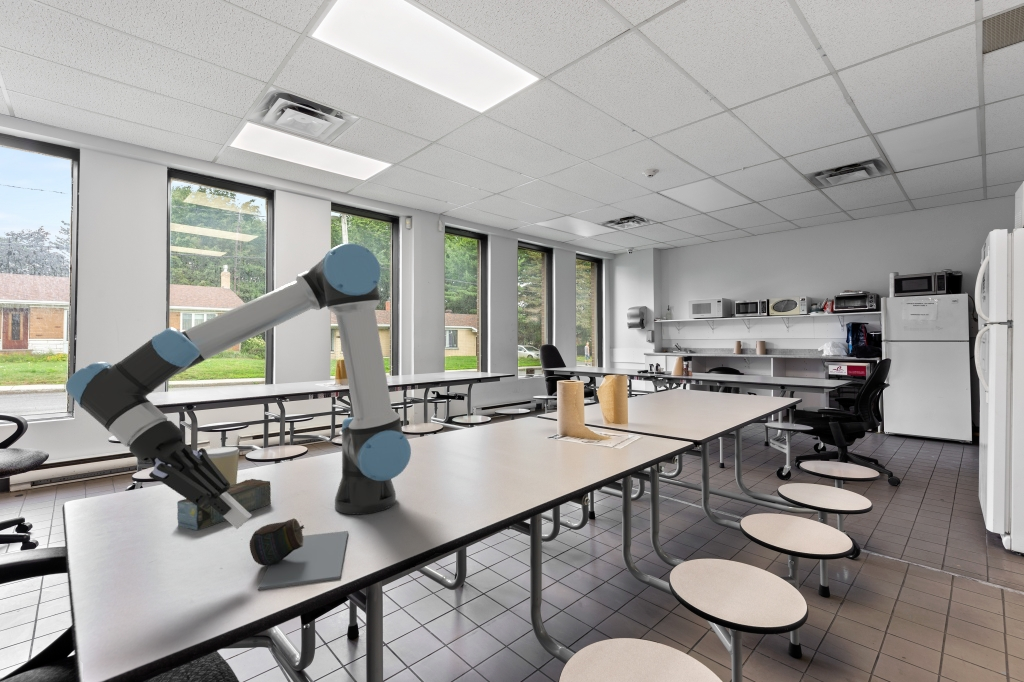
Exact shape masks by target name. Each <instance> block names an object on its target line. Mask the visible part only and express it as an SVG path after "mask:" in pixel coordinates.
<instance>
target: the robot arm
mask: <svg viewBox="0 0 1024 682" xmlns="http://www.w3.org/2000/svg"><path fill="white" fill-rule="evenodd" d="M381 271H382V270H381V266H380V263H379V260H378V259H377V256H376V255H375V254H374V253H373V252H372V251H371V250H369V248H367V247H365V246H363V245H361V244H358V243H349V242H348V243H343V244H339V245H337V246H334V247H332V248H331V249H329V251H328V252H327V253H325V256H324V257H323V258H322V259H321V260H320V261H319V262H318V263H316V264H315V265H313V266H312V267H311V268H308V269H307V270H306V271H303V272H301V273H299V274H297V275H296V278H295V280H294V281H292V282H290V283H287V284H285V285H283V286H280V287H279V288H276V289H274V290H272V291H270V292H267V293H265V294H263V295H261V296H259V297H256V298H254V299H252V300H249V301H247V302H245V303H243V304H241V305H238V306H236V307H234V308H232V309H230V310H226V311H225V312H223V313H222V314H218V315H217V316H215V317H213V318H210V319H208V320H205V321H204V322H201V323H198V324H197V325H194V326H192V327H190V328H188V329H186V330H183V331H182V332H181V330H178V329H177V328H175V327H168V328H166V329H164V330H163V331H162V332H160V333H158V334H155V335H154V336H152V338H151V339H149V340H148V341H147V342H145V343H144V344H141V346H139V348H137V349H136V350H134V351H133V352H131V353H130V354H128V355H127V356H126V357H124V358H123V359H122V360H120V361H118V362H117V363H114V364H110V363H109V362H106V361H98V362H93V363H91V364H89V365H87V366H85V367H81V368H80V369H78V370H77V371H75V372H74V373H73V374H72V375H71V376H70V377H69V379H67V381H66V383H65V391H67V393H68V394H69V395H70V396H71V398H73V399H74V400H75V402H76V403H77V404H78V405H79V408H81V409H83V410H84V411H86V413H88V414H89V415H90V416H91V417H93V418H94V419H95V420H96V421H97V422H98V423H99V424H101V425H102V426H103V427H104V429H106V430H107V431H108V432H109V433H110V434H112V435H113V436H114V438H115V439H117V441H118V442H120V443H121V444H122V445H123V446H124V447H127V448H128V447H129V448H128V449H129V452H130V453H131V454H132V455H133V456H134V457H136V459H138V460H139V461H140V462H141V463H143V464H148V463H151V465H152V466H154V468H153V470H152V471H151V472H150V473H149V475H148V476H149V477H150V478H151V479H153V480H156V481H158V482H161V483H163V484H164V485H165V486H167V487H168V488H170V489H171V490H173V491H175V492H176V493H178V494H179V495H180V496H182V497H184V499H188V500H189V501H191V502H192V503H194V504H195V505H197V506H201V505H202V504H204V505H203V506H202V508H207V507H208V506H209V505H211V506H212V507H213V508H214V509H215V510H217V512H218V513H219V514H221V515H222V516H223V517H224V518H225V519H226V520H225V521H228V523H230V525H231V526H233V527H234V528H235V529H236V530H238V529H240V528H241V527H242V526H243V525H244V524H245V523H246V522H247V521H248V520H250V518H251V517H252V515H253V514H251V513H250V511H249V512H248V511H247V510H246V509H244V508H243V507H242V506H241V505H240V504H239V503H238V502H237V501H236V500H235V499H234V498H233V497H232V496H231V495H229V494H228V493H227V490H228V489H229V488H230V483H229V482H228V481H227V479H226V478H225V477H224V476H223V474H222V473H221V472H220V471H219V469H218V468H217V467H216V466H215V464H214V463H213V462H212V461H211V459H210V458H209V457H208V454H207V452H206V450H207V449H206V448H203V447H201V448H199V449H198V450H194V449H193V448H192V446H190V445H188V444H187V443H185V442H183V438H184V432H183V430H181V429H180V428H179V426H177V425H176V424H175V423H174V422H173V421H171V420H168V416H167V415H166V414H165V413H164V412H162V411H161V410H160V409H159V408H158V407H157V406H155V405H154V403H153V402H152V401H150V400H149V399H148V398H147V397H148V396H149V395H150V394H151V393H154V391H155V390H156V389H158V388H159V387H160V386H162V385H163V384H164V383H166V382H168V381H169V380H170V379H171V378H173V377H174V376H177V375H179V374H181V373H183V372H186V371H187V370H189V369H191V368H192V367H195V366H197V365H198V364H201V363H203V362H204V361H206V360H208V359H211V358H212V357H214V356H215V357H216V355H219V354H221V353H223V352H225V351H227V350H229V349H232V348H233V347H235V346H237V345H240V344H241V343H244V342H246V341H248V340H250V339H251V338H254V337H256V336H259V335H261V334H262V333H265V332H266V331H268V330H271V329H272V328H275V327H277V326H279V325H280V324H283V323H285V322H287V321H289V320H292V319H293V318H295V317H298V316H300V315H301V314H304V313H306V312H308V311H310V310H316V311H319V310H322V309H323V308H325V307H327V310H329V311H330V312H332V313H333V314H334V315H335V317H336V318H335V319H336V322H337V328H338V333H339V334H338V335H339V339H340V345H341V350H342V356H343V357H342V358H343V361H344V367H345V372H346V378H347V379H346V380H347V383H348V385H347V386H348V389H349V396H350V401H351V407H352V412H353V416H352V417H351V416H349V417H345V418H344V419H343V420H342V425H341V429H340V430H341V431H340V432H341V455H342V456H341V468H342V469H341V471H342V472H341V473H342V474H341V479H340V482H339V486H338V488H337V492H336V495H335V498H334V510H335V511H336V512H339V513H341V514H346V515H347V514H349V515H364V514H365V515H367V514H373V513H377V512H381V511H384V510H387V509H389V508H391V507H392V506H394V505H395V504H396V501H397V499H396V498H397V496H396V495H397V494H396V490H395V486H394V484H393V481H392V479H394V478H396V477H398V476H399V475H400V474H401V473H402V472H404V470H405V469H406V467H407V466H408V464H409V462H410V460H411V455H412V447H411V444H410V442H409V439H407V437H406V435H404V433H403V425H402V422H401V415H400V414H399V413H398V412H396V411H395V410H393V409H392V408H393V407H392V402H391V398H390V397H391V395H390V391H389V385H388V378H387V373H386V369H385V368H386V367H385V366H386V365H385V361H384V355H383V350H382V345H381V337H380V332H379V326H378V321H377V320H378V319H377V313H376V309H377V307H378V306H379V304H380V302H381V299H380V293H379V286H378V285H379V282H380V279H381Z"/></svg>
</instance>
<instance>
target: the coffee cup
mask: <svg viewBox="0 0 1024 682" xmlns="http://www.w3.org/2000/svg"><path fill="white" fill-rule="evenodd" d="M205 450H206V452H207V454H208V457H209V458H210V459H211V461H212V462H213V463H214V464H215V466H216V467H217V468H218V469H219V471H220V472H221V473H222V474H223V476H224V477H225V478H226V479H227V481H228V482H229V483H230V486H231V485H234V484H237V480H238V472H239V471H238V468H239V456H240V455H239V454H240V449H239V448H238V447H237V446H220V447H219V446H218V447H213V448H207V449H205Z"/></svg>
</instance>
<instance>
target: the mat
mask: <svg viewBox="0 0 1024 682" xmlns="http://www.w3.org/2000/svg"><path fill="white" fill-rule="evenodd" d="M348 534H349V530H344V531H343V530H342V531H341V530H340V531H335V532H334V531H333V532H325V533H317V534H307V535H303V547H300V548H298V549H296V550H294V551H292V552H291V553H290V554H289V555H288V556H286V557H285V558H284V559H283V560H281V561H280V562H278V563H275V564H272V565H268V567H267V569H266V571H265V574H263V577H262V578H261V581H260V583H259V585H258V588H257V589H258V591H261V590H262V591H263V590H269V589H276V588H283V587H291V586H297V585H298V586H299V585H307V584H313V583H319V582H326V581H334V580H335V581H336V580H340V579H341V576H342V569H343V563H344V556H345V552H346V546H347V539H348Z"/></svg>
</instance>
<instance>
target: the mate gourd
mask: <svg viewBox="0 0 1024 682" xmlns="http://www.w3.org/2000/svg"><path fill="white" fill-rule="evenodd" d="M303 529H305V527H304V524H302V525H300V523H299V521H298V520H297V519H296V518H292V519H288V520H285V521H280V522H274V523H270V524H266V525H263V526H261V527H260V528H258V529H257V530H255V531H254V532H253V534H252V536H251V537H250V540H249V549H250V554H251V556H252V559H253V560H254V562H255V563H257V564H258V565H261V566H264V567H266V566H269V565H272V564H275V563H278V562H280V561H281V560H283V559H284V558H285V557H286V556H288V555H289V554H290V553H291V552H292V551H294V550H296V549H298V548H300V547H303V536H304V534H303Z"/></svg>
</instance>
